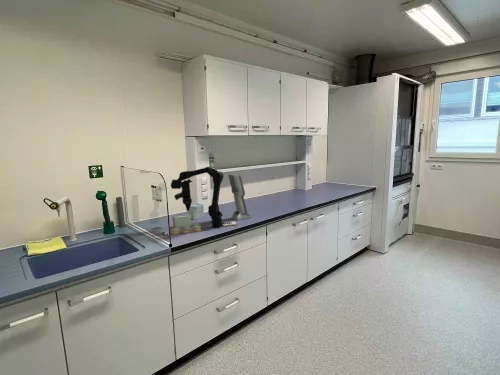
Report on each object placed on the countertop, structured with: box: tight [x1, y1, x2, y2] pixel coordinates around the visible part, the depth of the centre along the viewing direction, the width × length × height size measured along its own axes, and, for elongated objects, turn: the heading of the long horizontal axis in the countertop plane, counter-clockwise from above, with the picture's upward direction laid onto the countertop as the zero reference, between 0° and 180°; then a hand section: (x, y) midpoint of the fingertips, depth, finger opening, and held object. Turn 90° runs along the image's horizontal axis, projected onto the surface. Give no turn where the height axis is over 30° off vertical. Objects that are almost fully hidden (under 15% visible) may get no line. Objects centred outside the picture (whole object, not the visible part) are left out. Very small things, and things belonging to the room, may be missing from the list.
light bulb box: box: [188, 203, 205, 220], centre depth 218 cm, size 11×7×11 cm, turn 141°
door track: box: [169, 222, 202, 235], centre depth 184 cm, size 24×9×4 cm, turn 104°
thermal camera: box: [228, 174, 251, 221], centre depth 210 cm, size 12×13×35 cm
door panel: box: [172, 214, 192, 228], centre depth 184 cm, size 12×2×9 cm, turn 104°
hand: (187, 209), depth 195 cm, fingers open, 9 cm apart
